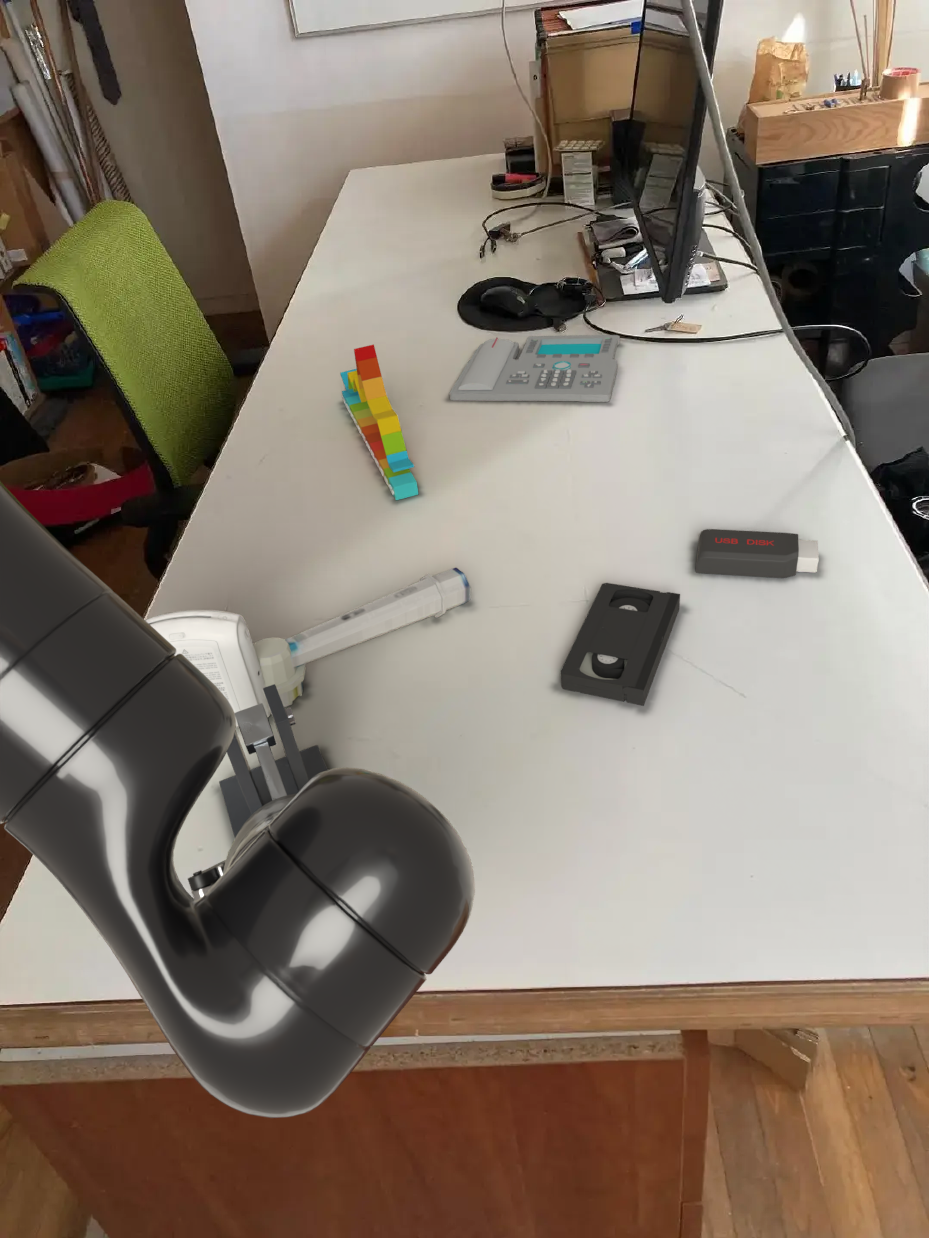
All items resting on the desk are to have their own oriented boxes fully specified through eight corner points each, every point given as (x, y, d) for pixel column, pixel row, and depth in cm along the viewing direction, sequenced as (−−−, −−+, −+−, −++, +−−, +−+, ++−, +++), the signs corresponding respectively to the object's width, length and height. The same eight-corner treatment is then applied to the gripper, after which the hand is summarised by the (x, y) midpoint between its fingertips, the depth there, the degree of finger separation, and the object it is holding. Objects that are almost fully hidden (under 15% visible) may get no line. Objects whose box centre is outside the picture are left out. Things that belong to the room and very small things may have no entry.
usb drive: (698, 544, 102) (699, 523, 100) (814, 550, 98) (818, 529, 97) (695, 573, 98) (696, 551, 96) (816, 580, 95) (820, 558, 93)
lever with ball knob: (327, 867, 69) (325, 859, 66) (286, 884, 68) (282, 877, 65) (272, 712, 73) (268, 698, 71) (232, 726, 73) (226, 713, 70)
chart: (342, 403, 138) (321, 304, 129) (363, 398, 139) (344, 299, 129) (394, 501, 115) (373, 389, 106) (418, 494, 116) (400, 383, 106)
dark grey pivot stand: (360, 851, 75) (328, 742, 67) (252, 895, 73) (205, 788, 65) (320, 753, 84) (287, 646, 76) (222, 789, 81) (178, 684, 73)
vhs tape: (603, 597, 96) (603, 581, 95) (679, 609, 94) (680, 594, 92) (560, 688, 87) (559, 673, 85) (643, 705, 84) (643, 689, 82)
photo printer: (277, 695, 90) (244, 595, 82) (270, 727, 87) (235, 626, 79) (174, 704, 91) (131, 605, 83) (163, 736, 87) (117, 636, 80)
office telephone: (447, 385, 133) (479, 328, 148) (449, 402, 135) (481, 344, 150) (609, 385, 127) (626, 326, 142) (609, 403, 129) (626, 342, 144)
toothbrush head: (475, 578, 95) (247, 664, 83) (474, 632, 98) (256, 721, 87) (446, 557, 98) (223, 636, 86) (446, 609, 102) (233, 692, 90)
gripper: (403, 752, 47) (369, 755, 64) (143, 852, 44) (179, 828, 61) (454, 893, 47) (407, 859, 63) (195, 1004, 43) (217, 938, 60)
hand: (295, 844), depth 62 cm, fingers closed
